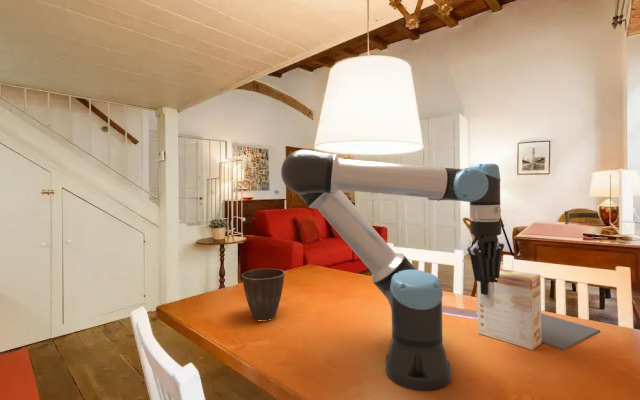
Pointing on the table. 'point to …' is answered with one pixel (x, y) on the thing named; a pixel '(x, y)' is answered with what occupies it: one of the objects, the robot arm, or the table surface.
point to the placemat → (563, 332)
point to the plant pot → (263, 291)
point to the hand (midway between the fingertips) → (487, 305)
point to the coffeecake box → (513, 309)
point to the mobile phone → (460, 312)
